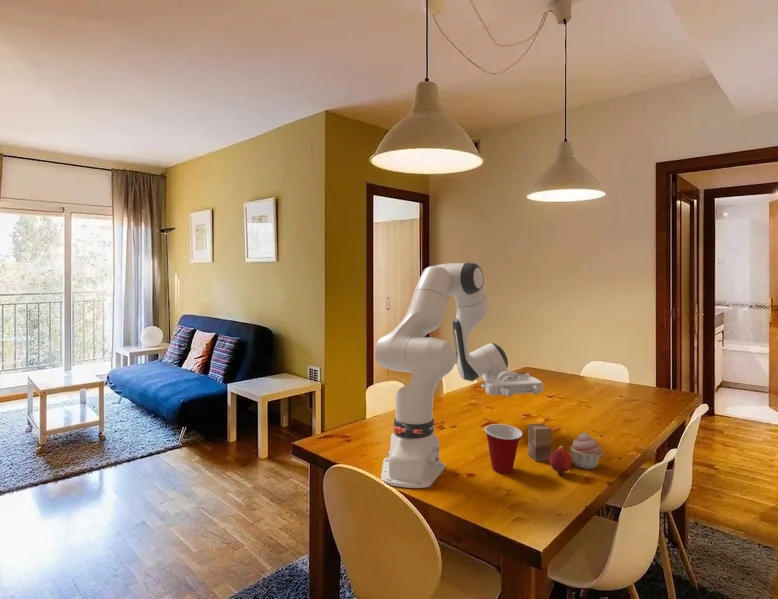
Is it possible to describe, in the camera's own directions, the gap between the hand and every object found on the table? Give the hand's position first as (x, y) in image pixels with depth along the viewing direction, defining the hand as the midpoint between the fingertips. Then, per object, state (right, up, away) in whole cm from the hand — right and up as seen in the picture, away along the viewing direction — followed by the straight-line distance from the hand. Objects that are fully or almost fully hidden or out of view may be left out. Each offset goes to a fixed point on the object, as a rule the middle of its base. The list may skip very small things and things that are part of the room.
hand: (523, 392), depth 157 cm
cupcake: (+14, -19, -17) cm, 29 cm away
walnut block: (+2, -18, -11) cm, 21 cm away
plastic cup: (-12, -19, -20) cm, 30 cm away
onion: (+4, -19, -23) cm, 30 cm away
